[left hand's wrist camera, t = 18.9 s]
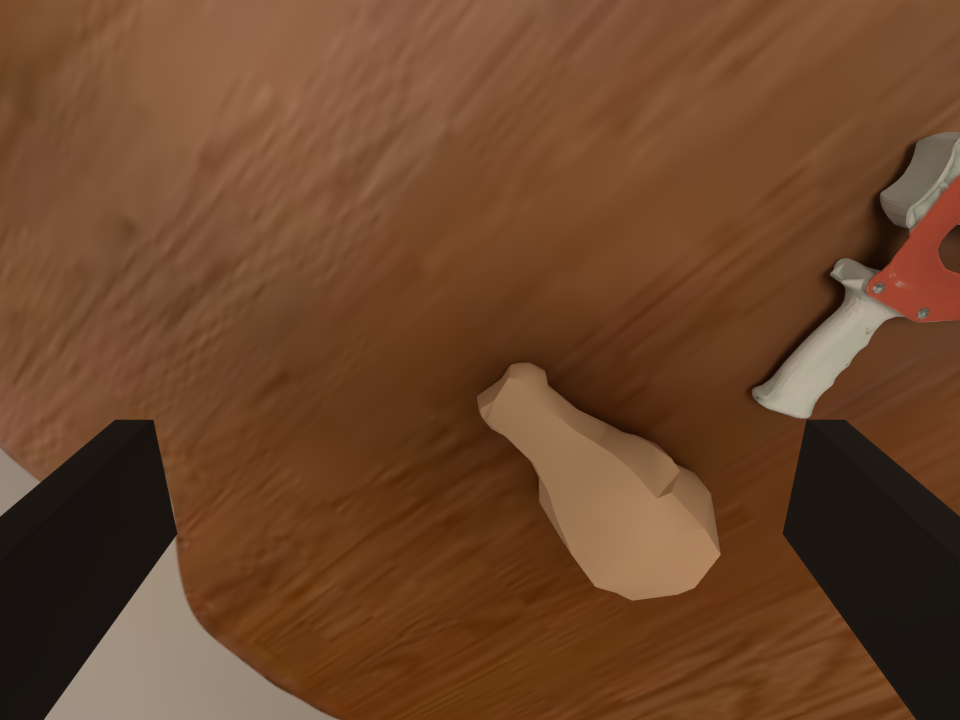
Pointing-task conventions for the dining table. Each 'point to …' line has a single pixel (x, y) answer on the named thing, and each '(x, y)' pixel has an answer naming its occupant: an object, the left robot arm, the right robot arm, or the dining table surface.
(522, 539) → the dining table surface
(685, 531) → the squash
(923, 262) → the tape dispenser
